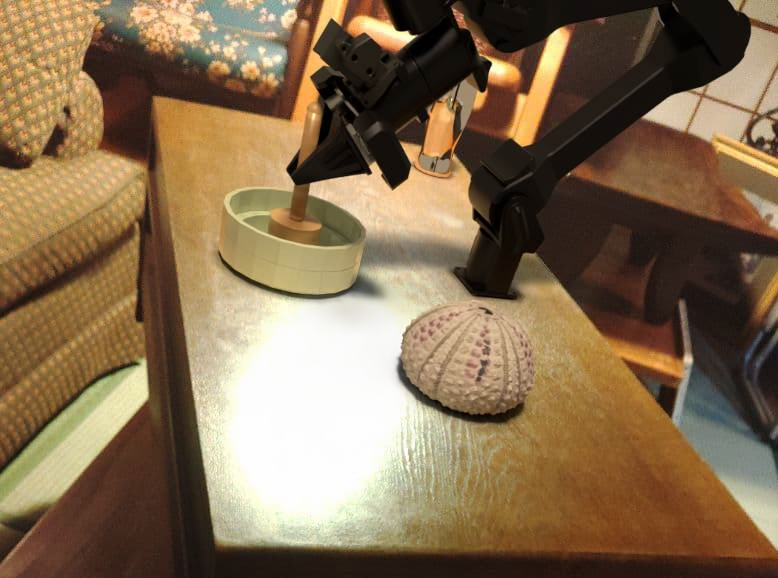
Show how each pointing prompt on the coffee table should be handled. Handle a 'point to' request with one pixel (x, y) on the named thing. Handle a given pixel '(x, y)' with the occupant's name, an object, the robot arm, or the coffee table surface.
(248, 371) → the coffee table surface
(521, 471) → the coffee table surface
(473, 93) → the beer glass
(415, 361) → the sea urchin shell
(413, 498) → the coffee table surface
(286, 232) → the wooden stamp
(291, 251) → the bowl
